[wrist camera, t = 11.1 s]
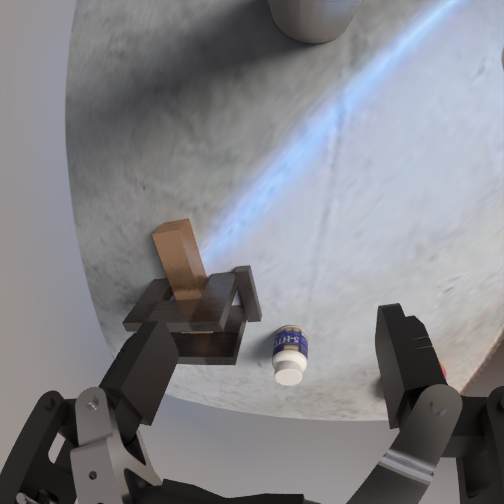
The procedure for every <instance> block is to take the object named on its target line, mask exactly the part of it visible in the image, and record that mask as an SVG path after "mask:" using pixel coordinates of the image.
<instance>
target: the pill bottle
mask: <svg viewBox="0 0 504 504" xmlns="http://www.w3.org/2000/svg"><path fill="white" fill-rule="evenodd" d="M307 351H308V336H307V333H306V332H305V330H304V329H302V328H300V327H298V326H293V325H291V326H285V327H282V328H281V329H279V330H278V332H277V333H276V337H275V344H274V351H273V358H272V365H273V368H274V369H275V375H274V378H275V380H276V381H277V382H278V383H279V384H282V385H286V386H291V385H296V384H298V383H299V382H300V381H301V380H302V372H303V371H304V370H305V368H306V366H307Z"/></svg>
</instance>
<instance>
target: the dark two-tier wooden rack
mask: <svg viewBox="0 0 504 504" xmlns="http://www.w3.org/2000/svg"><path fill="white" fill-rule="evenodd" d="M237 287H238V288H239V291H240V295H241V299H242V302H243V305H237V306H231V305H232V302H233V299H234V296H235V293H236V290H237ZM172 295H173V291H172V288H171V286H170V283H169V280H168V278H165V279H154V281H153V282H152V283H151V285H150V286H149V287H148V288H147V290H146V291H145V292H144V294H143V295H142V296H141V298H140V299H139V301H138V302H137V303H136V305H135V306H134V307H133V309H132V310H131V311H130V313H129V314H128V316H127V317H126V318H125V320H124V321H123V322H122V323H123V325H124V327H125V329H126V331H133V332H137V331H138V330H139V328H140V326H141V325H142V323H143V322H144V321H158V320H161V321H164V322H165V324H166V325H167V328H168V330H169V332H170V334H171V336H172V338H173V340H174V342H175V344H176V346H177V348H178V354H179V357H178V362H177V364H194V365H235V364H236V360H237V356H238V352H239V348H240V344H241V341H242V337H243V333H244V329H245V325H246V320H248V322H259V321H261V318H262V313H261V309H260V305H259V301H258V297H257V292H256V288H255V284H254V280H253V276H252V271H251V267H250V265H249V266H239V267H236V269H235V272H227V273H217V274H212V275H211V277H210V279H209V281H208V283H207V285H206V287H205V289H204V291H203V293H202V295H201V298H200V299H187V300H170V298H171V296H172ZM169 300H170V301H169ZM208 331H213V333H182V332H208Z"/></svg>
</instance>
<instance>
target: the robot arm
mask: <svg viewBox="0 0 504 504" xmlns="http://www.w3.org/2000/svg"><path fill="white" fill-rule="evenodd" d="M363 1H364V0H268V3H269V7H270V10H271V14H272V17H273V20H274V22H275V24H276V25H277V27H278V28H279V29H280V30H281V31H282V32H283V33H285V34H286V35H287V36H289V37H291V38H293V39H295V40H297V41H300V42H304V43H311V44H320V43H325V42H329V41H331V40H334V39H336V38H337V37H339V36H340V35H341V34H342V33H343V32H344V31H345V29H346V28H347V26H348V24H349V23H350V21H351V20H352V18H353V17H354V15H355V13H356V12H357V10H358V9H359V7H360V5H361V4H362V2H363ZM375 349H376V355H377V360H378V364H379V369H380V374H381V379H382V384H383V389H384V395H385V400H386V406H387V412H388V418H389V425H390V429H393V428H399V430H400V432H399V434H398V436H397V437H396V439H395V440H394V442H393V444H392V445H391V447H390V448H389V450H388V451H387V452H386V454H385V455H384V456H383V457H382V458H381V460H380V461H379V462H378V464H377V465H376V467H375V468H374V469H373V471H372V472H371V473H370V475H369V476H368V478H367V479H366V480H365V481H364V483H363V484H362V485H361V486H360V488H359V489H358V490H357V491H356V493H355V494H354V495H353V496H352V497H351V499H350V500H349V501H348V502H347V503H346V504H418V503H419V501H420V500H421V498H422V496H423V495H424V493H425V491H426V490H427V488H428V486H429V485H430V483H431V481H432V478H433V475H434V474H433V472H434V470H435V467H436V465H437V464H438V462H439V460H440V458H441V457H456V463H457V471H458V481H459V493H460V504H504V386H500V387H498V388H496V389H494V390H493V391H492V392H491V394H490V395H489V396H488V397H466V396H462V395H460V394H459V393H458V391H457V390H455V389H454V388H453V387H451V386H449V385H448V384H447V382H446V380H445V377H444V374H443V371H442V368H441V366H440V363H439V360H438V358H437V355H436V353H435V350H434V348H433V347H432V343H431V340H430V338H429V336H428V333H427V331H426V328H425V326H424V324H423V323H422V322H421V321H420V320H418V319H417V318H416V317H415V316H408V317H405V315H404V312H403V310H402V307H401V305H400V304H399V303H396V304H389V305H382V306H379V307H378V312H377V324H376V334H375ZM178 357H179V354H178V348H177V346H176V344H175V342H174V340H173V338H172V336H171V334H170V332H169V330H168V328H167V325H166V324H165V322H164V321H161V320H158V321H144V322H143V323H142V325H141V326H140V328H139V330H138V331H137V333H134V334H133V335H132V336H131V337H130V338H129V339H128V340H126V342H125V343H124V345H123V347H122V348H121V350H120V352H119V353H118V355H117V356H116V360H114V361H113V363H112V365H111V366H110V368H109V370H108V371H107V373H106V375H105V376H104V378H103V380H102V381H101V383H100V385H99V387H91V388H88V389H86V390H84V391H83V392H82V393H81V394H80V395H79V396H78V398H77V399H64V398H63V397H62V396H61V395H60V393H59V392H57V391H49V392H47V393H45V394H43V395H42V396H41V398H40V399H39V400H38V402H37V404H36V406H35V407H34V409H33V411H32V413H31V414H30V416H29V418H28V420H27V422H26V423H25V425H24V427H23V429H22V431H21V433H20V435H19V437H18V438H17V440H16V442H15V445H14V446H13V448H12V450H11V452H10V454H9V456H8V459H7V461H6V463H5V465H4V467H3V469H2V472H1V474H0V504H74V503H75V500H76V498H77V499H78V503H79V504H320V503H317V502H313V501H309V500H305V499H304V495H303V494H267V493H265V494H259V495H252V496H244V497H235V498H225V497H222V496H219V495H217V494H214V493H212V492H209V491H207V490H204V489H202V488H200V487H197V486H195V485H191V484H186V483H181V482H177V481H172V480H168V479H163V482H162V481H161V479H160V478H159V476H158V475H157V474H156V473H155V471H154V469H153V467H152V465H151V462H150V459H149V457H148V454H147V451H146V448H145V445H144V442H143V439H142V436H141V433H140V431H139V430H138V427H139V425H140V424H144V425H149V426H151V424H152V422H153V420H154V417H155V415H156V412H157V410H158V407H159V405H160V403H161V400H162V398H163V395H164V393H165V391H166V388H167V386H168V383H169V381H170V379H171V376H172V374H173V372H174V369H175V367H176V364H177V362H178ZM57 433H59V434H60V435H62V436H63V437H64V438H65V441H64V444H63V446H62V448H61V450H60V452H59V455H58V457H57V459H56V461H55V463H54V464H53V463H52V462H51V461H50V460H49V457H48V452H49V450H50V447H51V445H52V443H53V441H54V439H55V437H56V435H57Z"/></svg>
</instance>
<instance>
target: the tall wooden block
mask: <svg viewBox="0 0 504 504" xmlns="http://www.w3.org/2000/svg"><path fill="white" fill-rule="evenodd" d="M152 236H153V239H154V242H155V245H156V248H157V251H158V253H159V256H160V259H161V262H162V264H163V267H164V270H165V272H166V275H167V278H168V280H169V283H170V286H171V288H172V291H173V293H174V296H175V298H176V300H187V299H200V298H201V295H202V293H203V291H204V289H205V287H206V285H207V283H208V279H207V276H206V273H205V270H204V267H203V263H202V260H201V257H200V254H199V250H198V247H197V244H196V241H195V237H194V234H193V231H192V227H191V224H190V220H189V219H183V220H177V221H172V222H166V223H163V224H162V225H161V226H160V227H159V228H158V229H157V230H156V231H155V232H154V233H153V234H152ZM190 333H213V331H208V332H190Z"/></svg>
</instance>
